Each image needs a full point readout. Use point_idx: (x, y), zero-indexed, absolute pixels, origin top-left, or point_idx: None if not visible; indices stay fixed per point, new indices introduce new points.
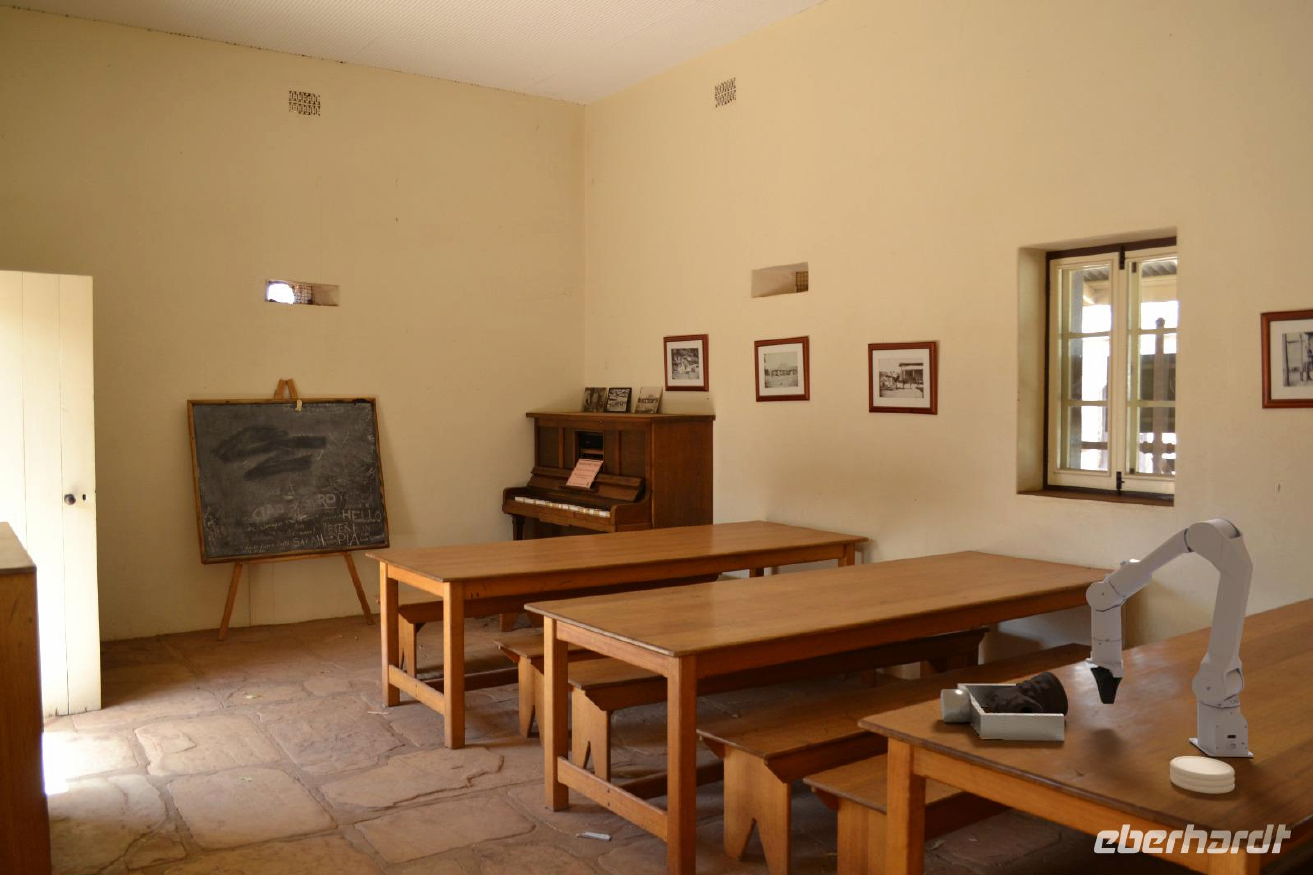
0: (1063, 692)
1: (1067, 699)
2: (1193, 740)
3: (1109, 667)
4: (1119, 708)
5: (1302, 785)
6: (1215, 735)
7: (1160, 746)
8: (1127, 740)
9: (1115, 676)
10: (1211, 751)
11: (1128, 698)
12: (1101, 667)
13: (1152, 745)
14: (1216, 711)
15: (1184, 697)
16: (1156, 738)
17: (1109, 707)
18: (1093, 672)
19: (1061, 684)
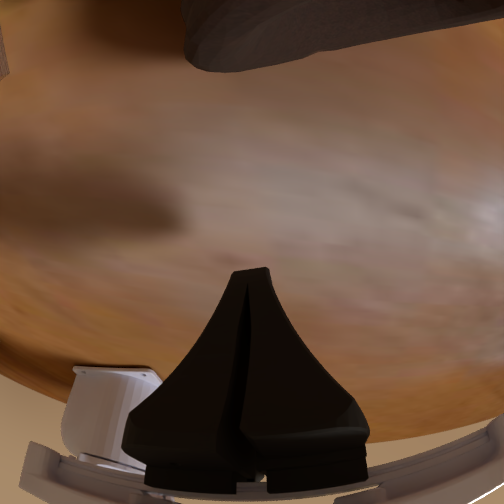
0: (185, 38)
1: (206, 69)
2: (137, 374)
3: (49, 493)
4: (433, 282)
5: (46, 395)
6: (67, 404)
7: (81, 317)
8: (81, 261)
9: (31, 447)
10: (87, 375)
11: (493, 304)
12: (281, 478)
13: (77, 305)
14: (71, 446)
15: (460, 374)
16: (139, 324)
17: (447, 258)
18: (248, 418)
19: (222, 12)
